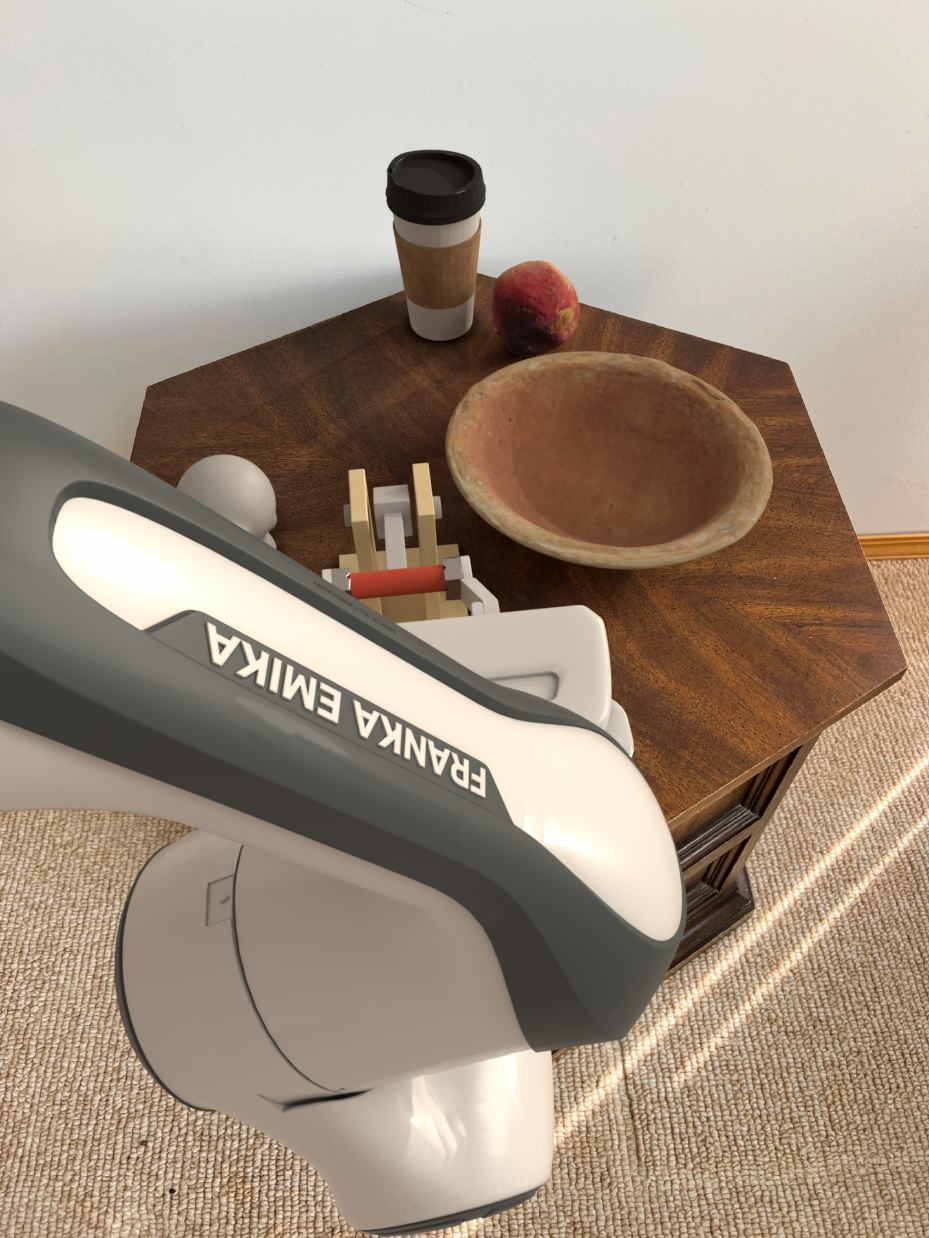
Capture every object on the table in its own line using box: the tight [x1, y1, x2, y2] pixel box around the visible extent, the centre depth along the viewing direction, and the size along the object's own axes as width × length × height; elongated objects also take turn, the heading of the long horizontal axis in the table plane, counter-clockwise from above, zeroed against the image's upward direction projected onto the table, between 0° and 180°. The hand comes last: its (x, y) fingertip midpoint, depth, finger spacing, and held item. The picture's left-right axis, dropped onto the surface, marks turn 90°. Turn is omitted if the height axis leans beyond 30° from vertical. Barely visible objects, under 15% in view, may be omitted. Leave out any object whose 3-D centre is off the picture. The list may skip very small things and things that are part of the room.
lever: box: [349, 484, 446, 600], centre depth 55 cm, size 12×5×2 cm, turn 6°
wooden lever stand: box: [338, 462, 469, 623], centre depth 63 cm, size 12×9×14 cm
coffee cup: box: [384, 149, 487, 342], centre depth 83 cm, size 8×8×15 cm
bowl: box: [444, 350, 774, 571], centre depth 71 cm, size 24×24×8 cm
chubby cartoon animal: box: [176, 454, 278, 549], centre depth 68 cm, size 7×12×8 cm, turn 5°
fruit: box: [491, 259, 581, 357], centre depth 84 cm, size 8×8×8 cm
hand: (395, 569), depth 51 cm, fingers closed on lever, 5 cm apart
